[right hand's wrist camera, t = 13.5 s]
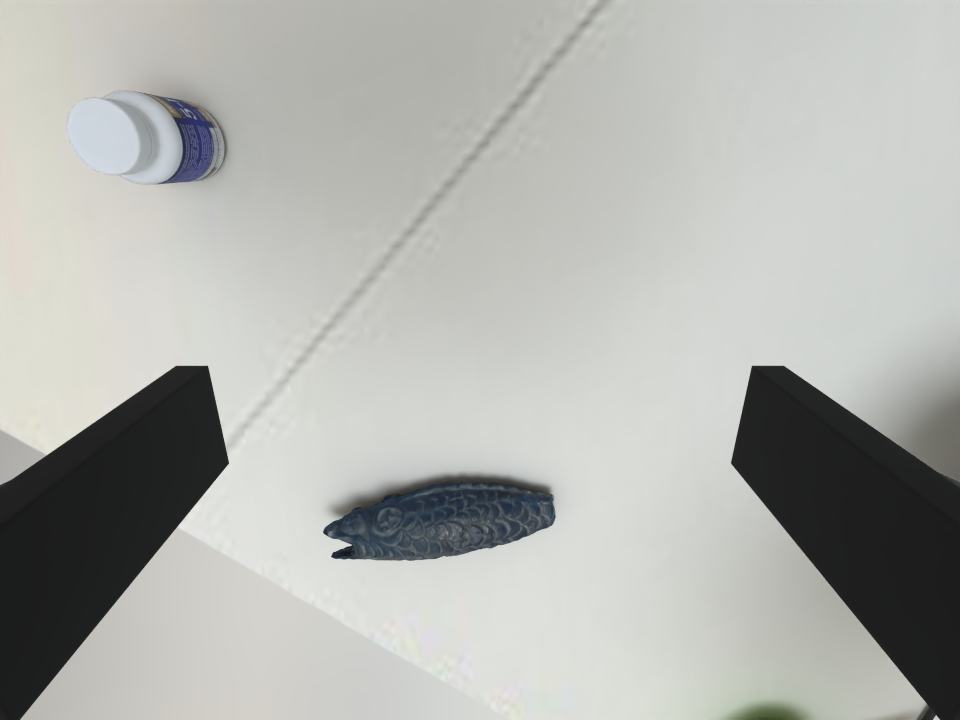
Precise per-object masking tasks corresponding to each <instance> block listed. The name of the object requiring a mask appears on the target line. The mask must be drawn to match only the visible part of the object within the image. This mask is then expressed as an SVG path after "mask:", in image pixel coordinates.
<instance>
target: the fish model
mask: <svg viewBox="0 0 960 720" xmlns="http://www.w3.org/2000/svg"><path fill="white" fill-rule="evenodd" d="M552 502H553V495H552V494H543V493H541V492H532V491H529V490H528V489H522V490H521V489H518V488H516V487H514V486H510V485H507V486H502V485H500V484H497V483H491V484H484V483H475V484H471V483H470V482H464V483H463V482H462V483H457V484H455V483H450V482H447V483H444V484H442V485H432V486H429V487H427V488H426V489H419V490H416V491H414V492H411V493H409V494H406V495H402V496H400V495H398V494H396V495H390V496H387V497H385V498H384V500H383V502H382V503H378V504H377V505H375V506H372V507H370V508H364V509H363V508H360V507H358V508H354V509H353V510H352V512H351V513H350V514H348V515H346V516H344V517H343V518H341V519H340V520H336V521H334V522H332V523H331V524H329V525H328V526H326V527H325V529H324V531H323V533H324V534H325V535H327V536H328V537H330V538H333V539H340V540H342V541H344V542H347V543H349V544H351V545H352V546H349V547H346V548H344V549H340V550H338V551H336V552H333V554H332V556H331V557H332V558H335V559H372V560H409V561H412V560H424V559H437V558H440V557H442V556H446V557H448V556H457V555H461V554H465V553H468V552H471V551H475V550H478V549H483V548H493V547H495V546H497V545H504V544H507V543H511V542H513V541H517V540H519V539H521V538H523V537H526V536H529V535H531V534H533V533H535V532H536V531H539V530H541V529H545V528H548V527H549V526H552V524H553V523H554V521H555V508H554V506H553V503H552Z"/></svg>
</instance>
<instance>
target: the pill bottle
mask: <svg viewBox="0 0 960 720" xmlns="http://www.w3.org/2000/svg"><path fill="white" fill-rule="evenodd" d="M67 134H68V138H69V141H70V144H71V146H72V148H73V150H74V151H75V153H76V154H77V156H78V157H79V158H80V159H81V160H82V161H83V162H84V163H85V164H86V165H88V166H89V167H90V168H92V169H94V170H96V171H98V172H100V173H103V174H107V175H118V176H120V177H122V178H124V179H126V180H128V181H131V182H134V183H138V184H165V183H177V182H192V181H199V180H204V179H206V178H209V177H210V176H212V175H213V174H214V173H215V172H216V171H217V170H218V169H219V167H220V166H221V164H222V161H223V158H224V150H225V147H224V140H223V136H222V133H221V131H220V129H219V127H218V125H217V123H216V122H215V120H214V119H213V118H212V117H211V116H210V115H209V114H208V113H207V112H206V111H205V110H204V109H202V108H201V107H199V106H197V105H195V104H193V103H190V102H187V101H182V100H177V99H171V98H166V97H160V96H155V95H150V94H145V93H140V92H135V91H117V92H112V93H110V94H108V95H106V96H104V97H103V98H95V97H94V98H86V99H83V100H81V101H79V102H78V103H76V104H75V105H74V106H73V107H72V109H71V110H70V112H69V115H68V118H67Z"/></svg>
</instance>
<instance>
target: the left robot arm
mask: <svg viewBox="0 0 960 720" xmlns="http://www.w3.org/2000/svg"><path fill="white" fill-rule="evenodd" d="M935 716H936V714H935V713H934V712H933V710H932V709H931V708H929V709H928V711H927V712H926V714H925V715H924V717H923V718H922V720H933V719H934V717H935Z"/></svg>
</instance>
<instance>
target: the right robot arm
mask: <svg viewBox="0 0 960 720" xmlns="http://www.w3.org/2000/svg"><path fill="white" fill-rule="evenodd" d="M228 464H229V461H228V456H227V452H226V447H225V442H224V438H223V433H222V429H221V424H220V419H219V415H218V410H217V405H216V401H215V396H214V392H213V387H212V382H211V378H210V373H209V368H208V366H175V367H174V368H172V369H171V370H170V371H168V372H167V373H165V374H164V375H162V376H161V377H159V378H158V379H157V380H155V381H154V382H152V383H151V384H149V385H148V386H146V387H145V388H144V389H142V390H141V391H139V392H138V393H136V394H135V395H133V396H132V397H131V398H129V399H128V400H126V401H125V402H123V403H122V404H120V405H119V406H118V407H116V408H115V409H113V410H112V411H110V412H109V413H107V414H106V415H105V416H103V417H102V418H100V419H99V420H97V421H96V422H94V423H93V424H92V425H90V426H89V427H87V428H86V429H84V430H83V431H81V432H80V433H79V434H77V435H76V436H74V437H73V438H71V439H70V440H68V441H67V442H66V443H64V444H63V445H61V446H60V447H58V448H57V449H55V450H54V451H53V452H51V453H50V454H48V455H47V456H45V457H44V458H42V459H41V460H40V461H38V462H37V463H35V464H34V465H32V466H31V467H30V468H28V469H27V470H25V471H24V472H22V473H21V474H19V475H18V476H16V477H15V478H14V479H12V480H10V481H8V482H6V483H4V484H2V485H0V720H20V719H21V718H22V716H23V715H24V714H25V713H26V711H27V710H28V709H29V708H30V707H31V705H32V704H33V703H34V702H35V700H36V699H37V698H38V697H39V696H40V694H41V693H42V692H43V691H44V689H45V688H46V687H47V686H48V685H49V683H50V682H51V681H52V680H53V678H54V677H55V676H56V675H57V674H58V672H59V671H60V670H61V669H62V667H63V666H64V665H65V664H66V663H67V661H68V660H69V659H70V658H71V656H72V655H73V654H74V653H75V651H76V650H77V649H78V648H79V647H80V645H81V644H82V643H83V642H84V640H85V639H86V638H87V637H88V636H89V634H90V633H91V632H92V631H93V629H94V628H95V627H96V626H97V624H98V623H99V622H100V621H101V620H102V618H103V617H104V616H105V615H106V613H107V612H108V611H109V610H110V609H111V607H112V606H113V605H114V604H115V602H116V601H117V600H118V599H119V598H120V596H121V595H122V594H123V593H124V591H125V590H126V589H127V588H128V587H129V585H130V584H131V583H132V582H133V580H134V579H135V578H136V577H137V575H138V574H139V573H140V572H141V571H142V569H143V568H144V567H145V566H146V564H147V563H148V562H149V561H150V560H151V558H152V557H153V556H154V555H155V553H156V552H157V551H158V550H159V548H160V547H161V546H162V545H163V543H164V542H165V541H166V540H167V539H168V537H169V536H170V535H171V534H172V533H173V531H174V530H175V529H176V528H177V526H178V525H179V524H180V523H181V522H182V520H183V519H184V518H185V517H186V515H187V514H188V513H189V512H190V510H191V509H192V508H193V507H194V506H195V504H196V503H197V502H198V501H199V499H200V498H201V497H202V496H203V495H204V493H205V492H206V491H207V490H208V488H209V487H210V486H211V485H212V484H213V482H214V481H215V480H216V479H217V477H218V476H219V475H220V474H221V472H222V471H223V470H224V469H225V468H226V466H227V465H228ZM731 464H732V465H733V466H734V468H735V469H736V470H737V471H738V472H739V474H740V475H741V476H742V477H743V479H744V480H745V481H746V482H747V484H748V485H749V486H750V487H751V488H752V490H753V491H754V492H755V493H756V495H757V496H758V497H759V498H760V499H761V501H762V502H763V503H764V504H765V506H766V507H767V508H768V509H769V511H770V512H771V513H772V514H773V515H774V517H775V518H776V519H777V520H778V522H779V523H780V524H781V525H782V526H783V528H784V529H785V530H786V531H787V533H788V534H789V535H790V536H791V537H792V539H793V540H794V541H795V542H796V544H797V545H798V546H799V547H800V549H801V550H802V551H803V552H804V553H805V555H806V556H807V557H808V558H809V560H810V561H811V562H812V563H813V564H814V566H815V567H816V568H817V569H818V571H819V572H820V573H821V574H822V575H823V577H824V578H825V579H826V580H827V582H828V583H829V584H830V585H831V587H832V588H833V589H834V590H835V591H836V593H837V594H838V595H839V596H840V598H841V599H842V600H843V601H844V602H845V604H846V605H847V606H848V607H849V609H850V610H851V611H852V612H853V613H854V615H855V616H856V617H857V618H858V620H859V621H860V622H861V623H862V625H863V626H864V627H865V628H866V629H867V631H868V632H869V633H870V634H871V636H872V637H873V638H874V639H875V640H876V642H877V643H878V644H879V645H880V647H881V648H882V649H883V650H884V651H885V653H886V654H887V655H888V656H889V658H890V659H891V660H892V661H893V663H894V664H895V665H896V666H897V667H898V669H899V670H900V671H901V672H902V674H903V675H904V676H905V677H906V678H907V680H908V681H909V682H910V683H911V685H912V686H913V687H914V688H915V689H916V691H917V692H918V693H919V694H920V696H921V697H922V698H923V699H924V701H925V702H926V703H927V704H928V705H929V707H930V708H931V709H932V710H933V712H934V713H935V714H936V715H937V716H938V718H939V719H940V720H960V483H959V482H957V481H955V480H953V479H951V478H948V477H946V476H944V475H942V474H940V473H938V472H936V471H935V470H933V469H932V468H931V467H929V466H928V465H926V464H925V463H923V462H922V461H920V460H919V459H918V458H916V457H915V456H913V455H912V454H910V453H909V452H907V451H906V450H905V449H903V448H902V447H900V446H899V445H897V444H896V443H894V442H893V441H892V440H890V439H889V438H887V437H886V436H884V435H883V434H881V433H880V432H879V431H877V430H876V429H874V428H873V427H871V426H870V425H868V424H867V423H866V422H864V421H863V420H861V419H860V418H858V417H857V416H855V415H854V414H853V413H851V412H850V411H848V410H847V409H845V408H844V407H842V406H841V405H840V404H838V403H837V402H835V401H834V400H832V399H831V398H829V397H828V396H827V395H825V394H824V393H822V392H821V391H819V390H818V389H816V388H815V387H814V386H812V385H811V384H809V383H808V382H806V381H805V380H803V379H802V378H801V377H799V376H798V375H796V374H795V373H793V372H792V371H790V370H789V369H788V368H786V367H785V366H752V368H751V373H750V378H749V382H748V387H747V391H746V396H745V401H744V405H743V410H742V415H741V419H740V424H739V429H738V433H737V438H736V442H735V447H734V452H733V456H732V461H731Z"/></svg>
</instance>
